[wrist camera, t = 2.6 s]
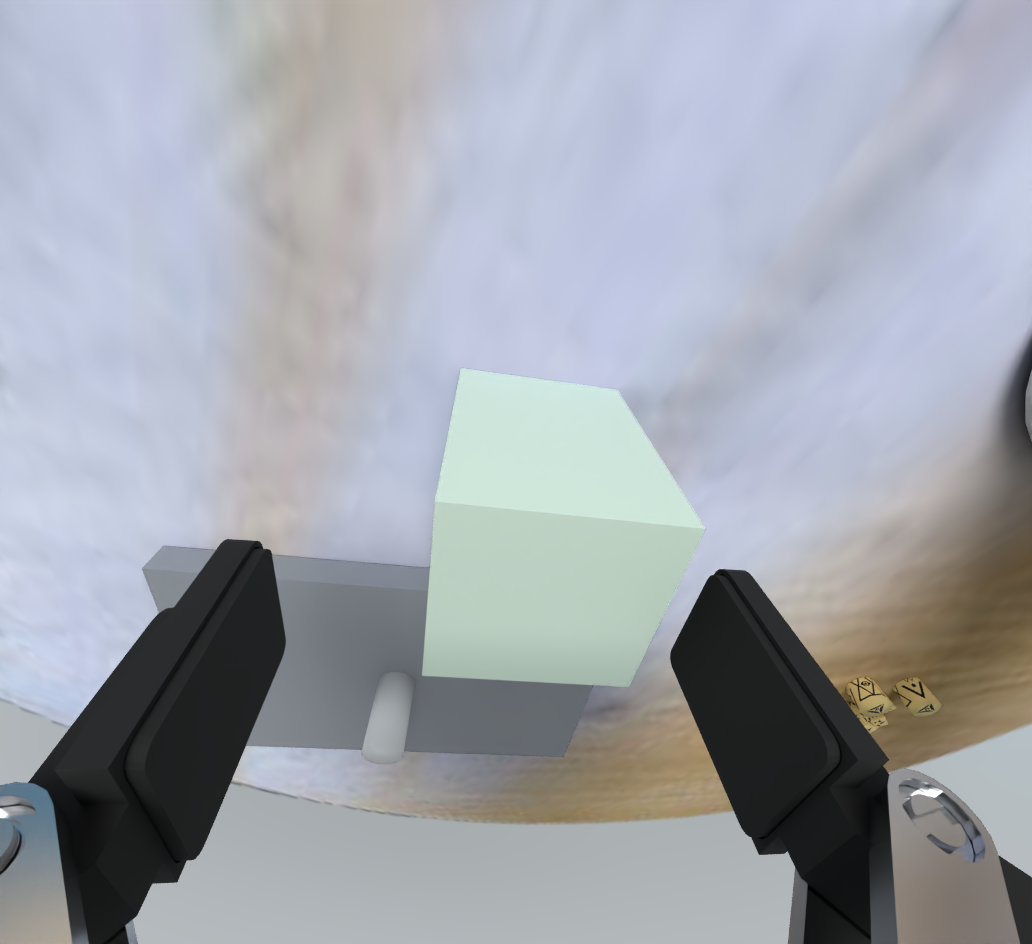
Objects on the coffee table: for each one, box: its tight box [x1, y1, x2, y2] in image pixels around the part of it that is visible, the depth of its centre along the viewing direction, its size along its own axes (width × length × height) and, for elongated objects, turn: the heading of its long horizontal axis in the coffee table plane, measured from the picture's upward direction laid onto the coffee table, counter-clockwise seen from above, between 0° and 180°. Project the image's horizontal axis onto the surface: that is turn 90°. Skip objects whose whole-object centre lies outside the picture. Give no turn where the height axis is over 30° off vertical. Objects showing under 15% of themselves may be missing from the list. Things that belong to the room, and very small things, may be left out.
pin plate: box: [142, 546, 593, 764], centre depth 19 cm, size 18×12×4 cm, turn 81°
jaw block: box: [422, 368, 706, 687], centre depth 12 cm, size 5×5×7 cm
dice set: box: [845, 677, 943, 733], centre depth 24 cm, size 5×5×2 cm
